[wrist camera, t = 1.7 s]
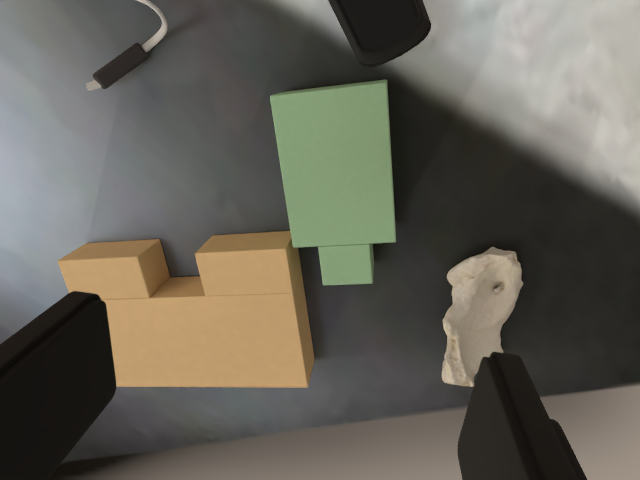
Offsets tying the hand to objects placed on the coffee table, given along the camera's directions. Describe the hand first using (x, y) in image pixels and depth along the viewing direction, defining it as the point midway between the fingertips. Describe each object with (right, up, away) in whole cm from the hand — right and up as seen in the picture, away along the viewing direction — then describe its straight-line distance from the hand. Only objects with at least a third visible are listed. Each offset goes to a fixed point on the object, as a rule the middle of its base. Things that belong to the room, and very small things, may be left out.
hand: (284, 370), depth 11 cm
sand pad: (-9, -2, +26) cm, 28 cm away
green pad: (+3, +7, +20) cm, 22 cm away
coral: (+13, -2, +23) cm, 26 cm away
